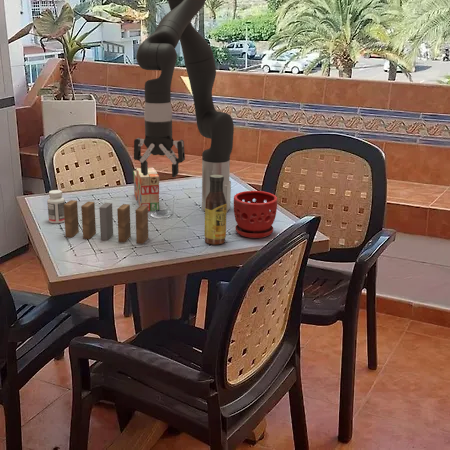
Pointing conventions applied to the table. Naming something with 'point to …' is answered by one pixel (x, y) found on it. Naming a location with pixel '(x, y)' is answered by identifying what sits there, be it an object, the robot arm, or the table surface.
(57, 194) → the pill bottle
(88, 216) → the walnut domino
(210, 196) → the sauce bottle
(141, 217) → the walnut domino
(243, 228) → the plant pot
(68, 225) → the walnut domino
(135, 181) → the stack of blocks
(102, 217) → the charcoal domino
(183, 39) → the robot arm
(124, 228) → the walnut domino
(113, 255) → the table surface
